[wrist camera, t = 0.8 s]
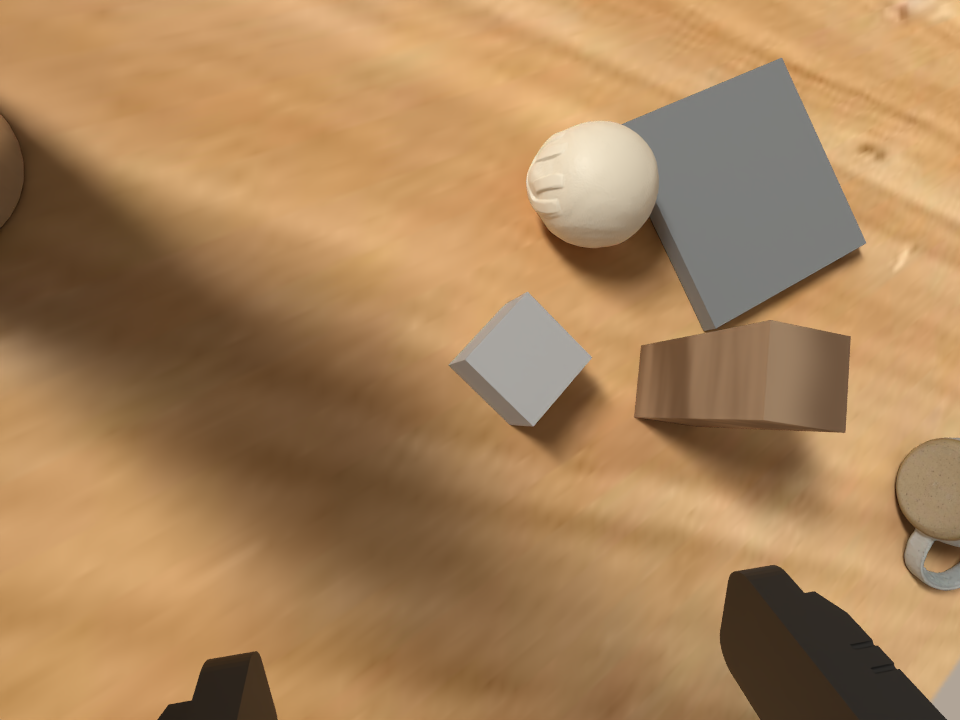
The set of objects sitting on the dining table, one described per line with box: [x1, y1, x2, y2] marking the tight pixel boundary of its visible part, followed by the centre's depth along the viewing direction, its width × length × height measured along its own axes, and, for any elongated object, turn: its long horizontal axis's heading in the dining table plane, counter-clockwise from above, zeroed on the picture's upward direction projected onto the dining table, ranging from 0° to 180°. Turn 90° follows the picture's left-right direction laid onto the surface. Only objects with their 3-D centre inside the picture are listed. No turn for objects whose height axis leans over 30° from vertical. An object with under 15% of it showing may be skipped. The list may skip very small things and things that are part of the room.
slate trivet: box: [622, 58, 866, 331], centre depth 39 cm, size 14×14×1 cm
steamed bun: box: [526, 121, 659, 248], centre depth 33 cm, size 7×7×7 cm
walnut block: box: [634, 320, 851, 433], centre depth 32 cm, size 4×4×11 cm
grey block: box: [449, 292, 592, 426], centre depth 33 cm, size 5×5×4 cm
